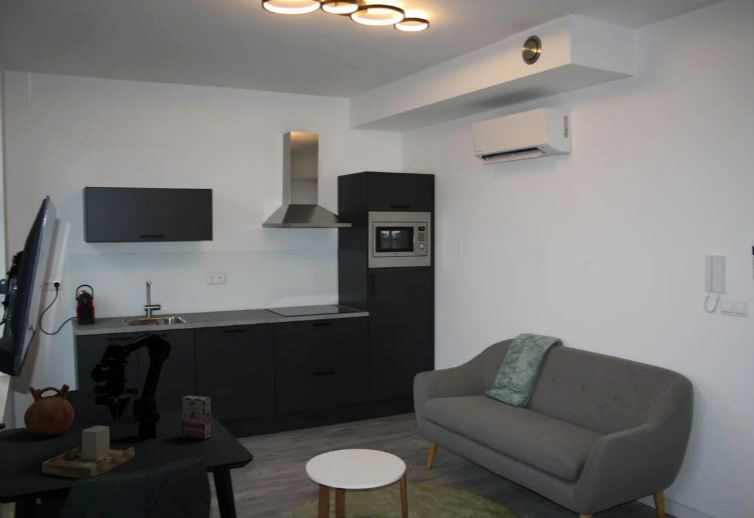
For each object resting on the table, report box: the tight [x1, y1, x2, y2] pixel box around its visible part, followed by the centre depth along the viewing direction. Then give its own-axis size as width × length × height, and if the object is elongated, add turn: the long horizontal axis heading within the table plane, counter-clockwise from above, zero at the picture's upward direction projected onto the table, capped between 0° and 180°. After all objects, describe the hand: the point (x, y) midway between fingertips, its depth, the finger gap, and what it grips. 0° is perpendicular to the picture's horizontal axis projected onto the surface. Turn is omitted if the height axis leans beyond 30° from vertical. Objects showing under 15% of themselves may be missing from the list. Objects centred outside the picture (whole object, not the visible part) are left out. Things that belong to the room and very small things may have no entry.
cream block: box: [81, 425, 111, 460], centre depth 236 cm, size 7×6×10 cm
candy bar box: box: [181, 394, 212, 440], centre depth 265 cm, size 11×5×16 cm, turn 68°
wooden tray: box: [41, 444, 136, 479], centre depth 233 cm, size 24×20×4 cm
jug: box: [23, 384, 75, 438], centre depth 269 cm, size 18×18×20 cm
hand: (117, 417), depth 250 cm, fingers open, 3 cm apart
